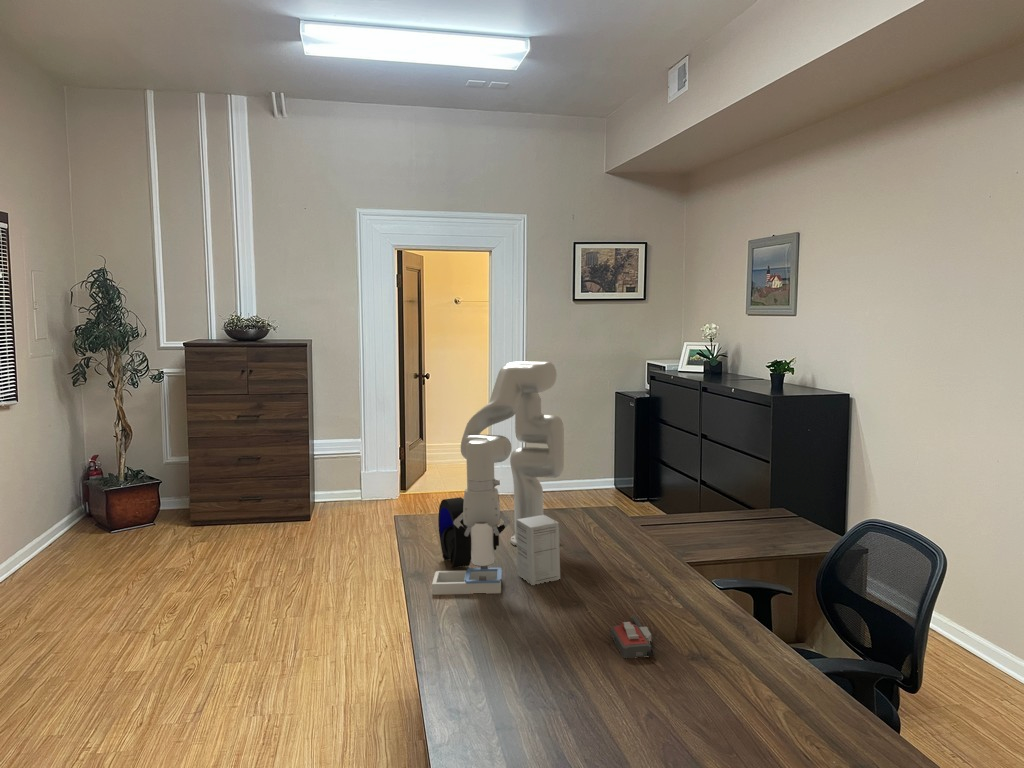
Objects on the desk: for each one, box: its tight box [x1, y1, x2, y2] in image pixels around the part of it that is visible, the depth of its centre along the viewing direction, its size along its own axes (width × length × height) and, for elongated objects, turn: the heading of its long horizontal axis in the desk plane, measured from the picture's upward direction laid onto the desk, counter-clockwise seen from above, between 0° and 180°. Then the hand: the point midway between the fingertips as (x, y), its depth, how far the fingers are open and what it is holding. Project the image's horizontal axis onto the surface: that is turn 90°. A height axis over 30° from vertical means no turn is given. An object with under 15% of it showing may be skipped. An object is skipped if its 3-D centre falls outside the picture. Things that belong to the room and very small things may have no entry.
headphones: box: [437, 497, 472, 569], centre depth 216 cm, size 19×7×20 cm, turn 22°
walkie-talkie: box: [610, 614, 655, 660], centre depth 165 cm, size 9×4×20 cm
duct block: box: [431, 566, 503, 596], centre depth 198 cm, size 19×10×5 cm, turn 90°
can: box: [470, 523, 496, 567], centre depth 197 cm, size 6×6×12 cm
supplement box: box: [516, 514, 561, 586], centre depth 204 cm, size 10×9×17 cm
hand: (482, 548), depth 197 cm, fingers closed on can, 6 cm apart
